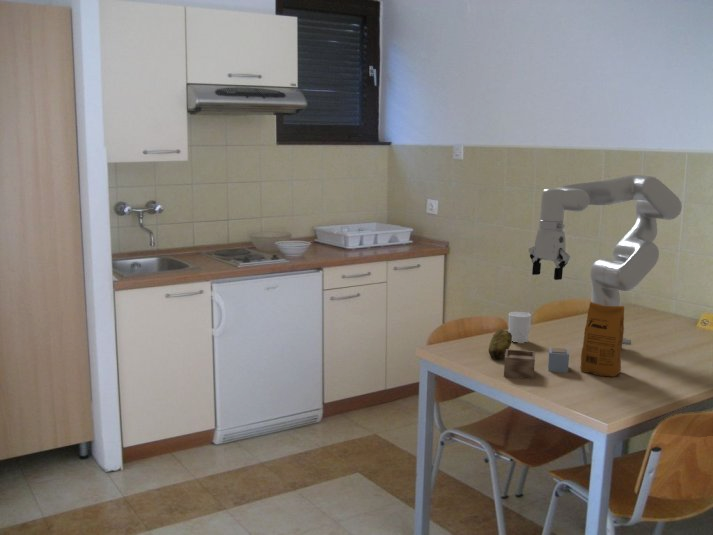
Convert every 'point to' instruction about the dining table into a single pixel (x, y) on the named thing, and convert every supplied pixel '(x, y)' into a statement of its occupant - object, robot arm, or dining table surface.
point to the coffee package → (603, 340)
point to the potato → (500, 344)
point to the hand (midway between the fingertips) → (546, 277)
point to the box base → (519, 364)
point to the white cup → (519, 326)
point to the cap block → (558, 360)
